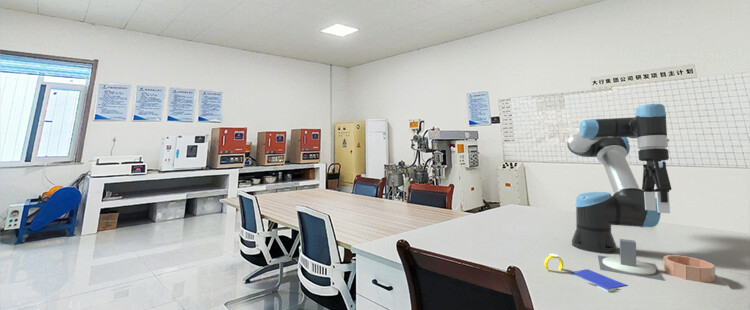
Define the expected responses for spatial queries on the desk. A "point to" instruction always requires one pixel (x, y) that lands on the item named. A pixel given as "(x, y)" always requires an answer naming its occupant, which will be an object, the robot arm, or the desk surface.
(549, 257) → the yellow curved ring
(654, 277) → the mat
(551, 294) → the desk surface
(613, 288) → the hard drive
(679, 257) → the bowl
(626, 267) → the lid
